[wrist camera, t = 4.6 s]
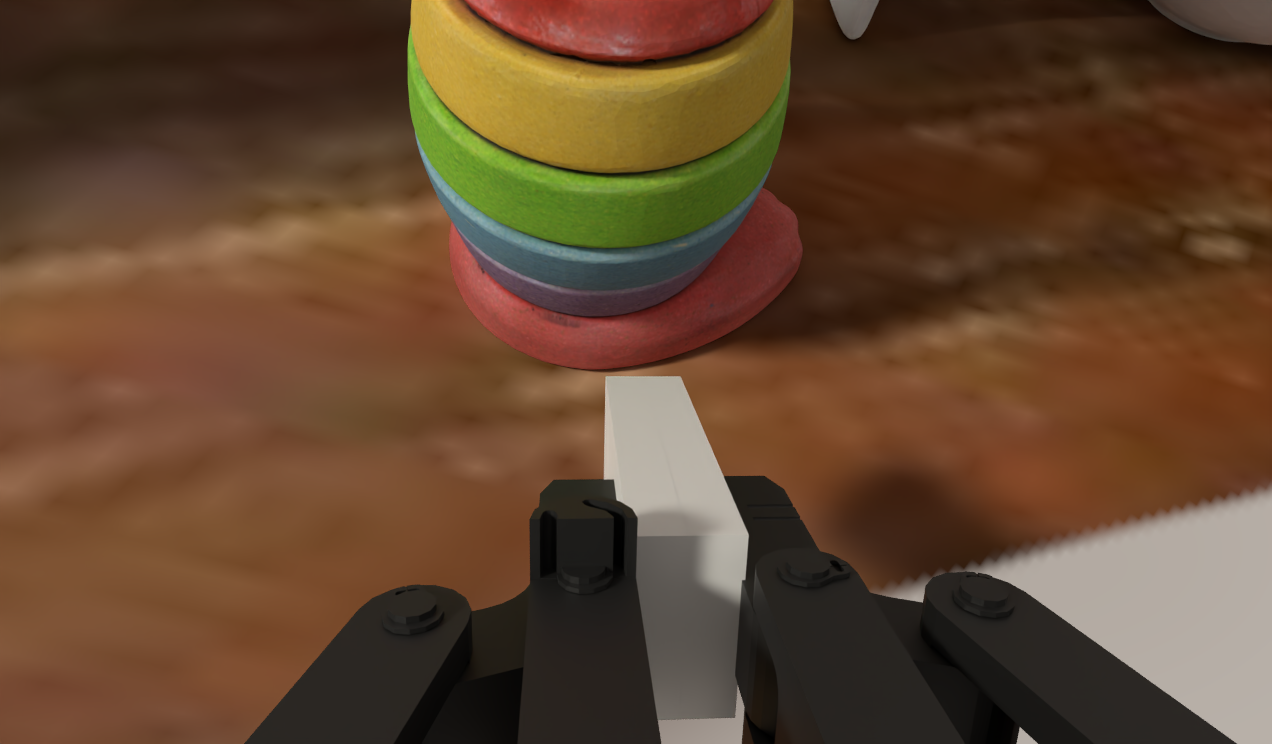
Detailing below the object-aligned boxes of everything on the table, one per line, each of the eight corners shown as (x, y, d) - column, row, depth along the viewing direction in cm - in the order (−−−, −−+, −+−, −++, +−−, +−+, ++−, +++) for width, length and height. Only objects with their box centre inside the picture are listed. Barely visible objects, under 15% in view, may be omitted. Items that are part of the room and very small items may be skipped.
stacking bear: (823, 255, 27) (1172, -488, 12) (611, 456, 23) (706, -253, 8) (591, 80, 30) (620, -702, 15) (369, 233, 26) (80, -612, 11)
